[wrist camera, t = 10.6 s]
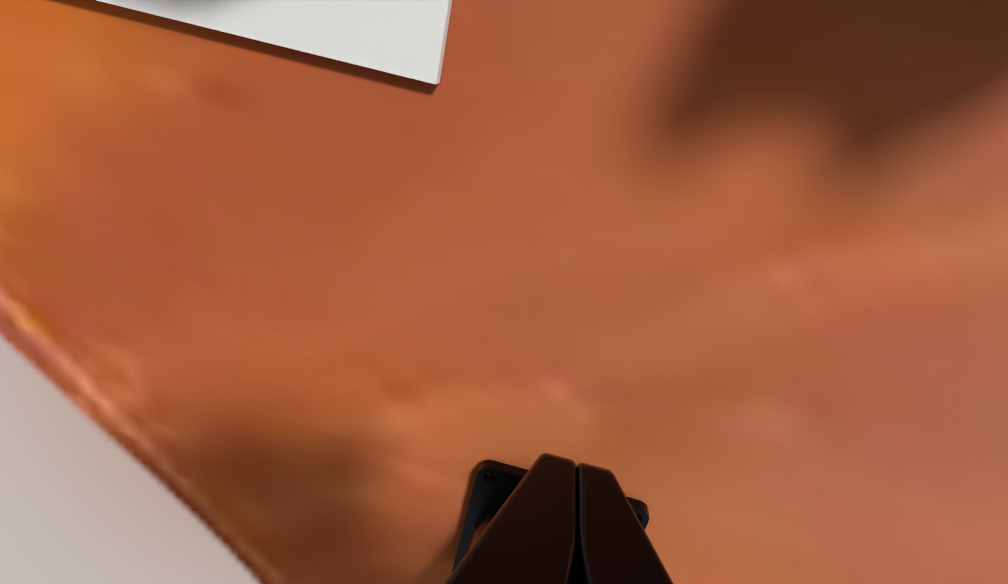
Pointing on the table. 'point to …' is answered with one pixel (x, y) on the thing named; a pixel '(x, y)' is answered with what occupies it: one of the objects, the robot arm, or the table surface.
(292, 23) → the mat
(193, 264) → the table surface
